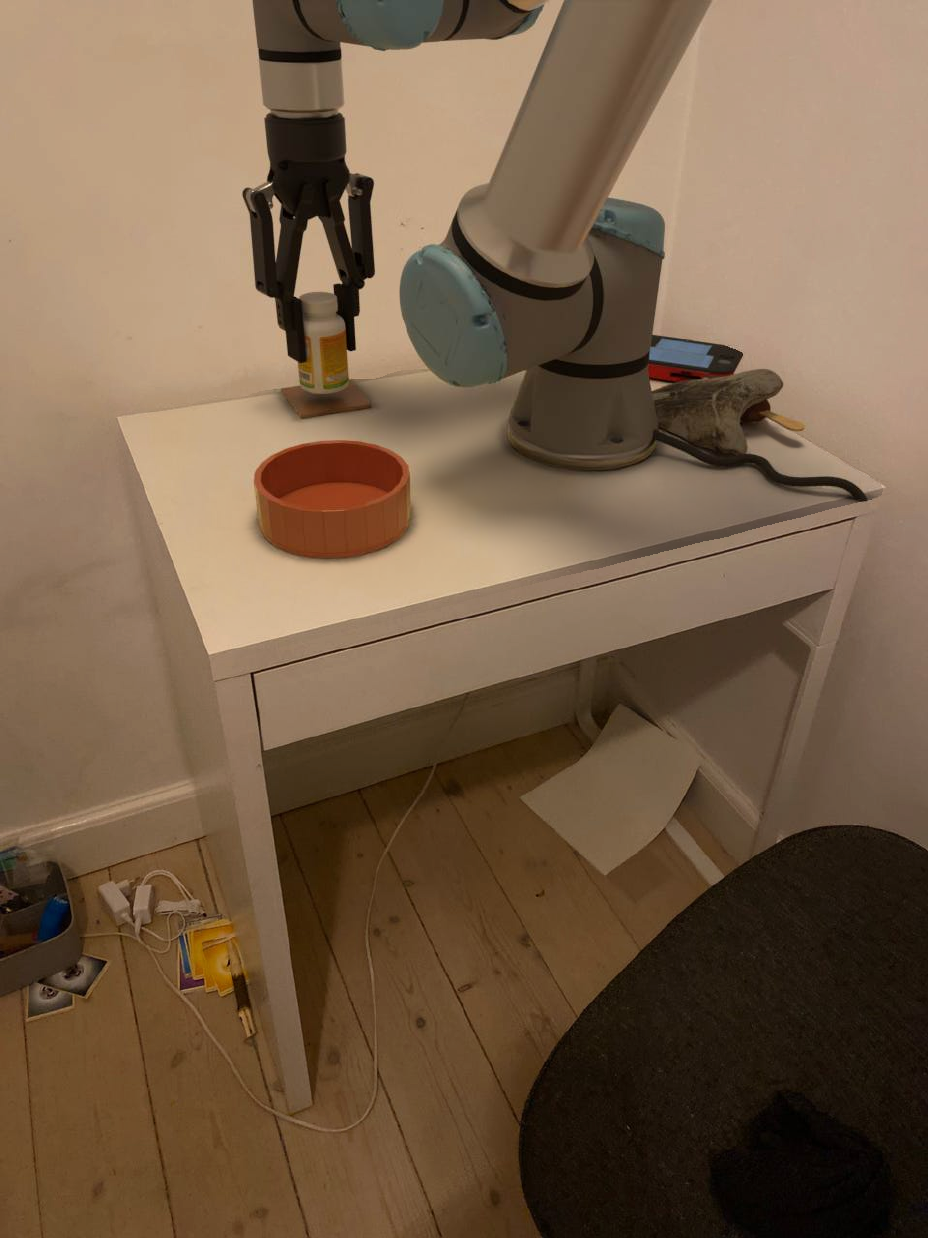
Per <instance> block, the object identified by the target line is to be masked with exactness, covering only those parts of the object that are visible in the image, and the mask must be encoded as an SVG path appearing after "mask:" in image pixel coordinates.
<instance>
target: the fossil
mask: <svg viewBox="0 0 928 1238" xmlns="http://www.w3.org/2000/svg"><path fill="white" fill-rule="evenodd" d="M783 388H784V381H783V379H782V378H781V376H780V375H779V374H778V373H777V372H775V371H773V370H771V369H767V368H757V369H756V368H755V369H750V370H745V371H741V372H738V373H734V375H730V376H725V377H719V378H713V379H698V380H688V381H682V382H672V383H669V384H667V385H663V386H661V387H658V388H655V389H653V390H652V395H653V400H654V405H655V410H656V415H657V420H658V428H661V429H663V430H665V431H667V432H670V433H672V434H674V435H675V436H679V437H681V438H683V439H684V440H686V441H687V442H689V443H691V444H692V445H693V446H699V447H702V448H704V449H707V450H708V449H709V450H711V451H715V452H723V453H724V454H729V453H731V454H735V455H739V454H747V452H748V447H749V446H748V442H747V438H746V436H745V433H744V430H743V428H742V427H741V424H740V423H741V421H740V417H741V416H742V414H743V413H744V412H745V411H746V409H747V408H749V407H750V406H751V405H753V404H756V403H759V402H761V401H764V400H769V399H771V398H773V397H776V396H777V395H778V394H779V393H780V392H781V391H782V389H783Z"/></svg>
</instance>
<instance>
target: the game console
mask: <svg viewBox="0 0 928 1238" xmlns="http://www.w3.org/2000/svg"><path fill="white" fill-rule="evenodd" d="M725 345H726V344H721V343H714V342H708V341H707V342H706V341H700V340H693V339H689V338H678V337H672V336H664V335H657V334H652V341H651V348H650V355H649V363H648V375H649V379H653V380H660V381H666V382H670V383H677V382H682V381H688V380H698V379H701V378H702V377H704V376H705V375H712V376H718V377H725V376H730V375H734V374H735V373H736V370H737V368H738V366H739V365H740V363H741V361H742V359H743V357H744V355H743V353H742V352H740V351H738V350H736V349H733V348H730V347H728V346H729V345H728V346H725Z"/></svg>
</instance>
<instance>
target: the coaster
mask: <svg viewBox="0 0 928 1238" xmlns="http://www.w3.org/2000/svg"><path fill="white" fill-rule="evenodd" d="M280 392H281V393H282V395H283V396H284V397H285V399H286V400H287V401H288V403H289V404H290V406H291V407H292V408H293V409H294V411H295V413H297V415H298V416H299V417H300V419H306V418H314V417H319V416H324V415H330V414H331V415H332V414H337V413H342V412H350V411H355V410H362V409H367V408H368V409H369V408H372V407H373V404H372V402H371V401H370V400H369V399H368V398H367V397H366V396H365V394H363V392H362V391H361V390H360V389H359V388H358V387H357V385H355V384H354V382H353V381H351V380H350V379H349V383H348V386H347V387H346V388H345V389H344V390H342V391H339V392H336V393H330V394H314V393H310V392H307V391H305V390H303V389H302V388H301V386H300V385H296V386H295V385H294V386H288V387H287V386H286V387H281V388H280Z"/></svg>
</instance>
